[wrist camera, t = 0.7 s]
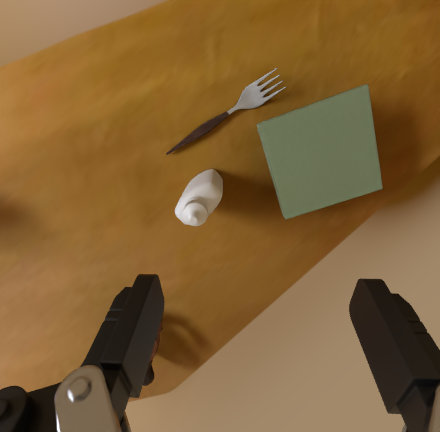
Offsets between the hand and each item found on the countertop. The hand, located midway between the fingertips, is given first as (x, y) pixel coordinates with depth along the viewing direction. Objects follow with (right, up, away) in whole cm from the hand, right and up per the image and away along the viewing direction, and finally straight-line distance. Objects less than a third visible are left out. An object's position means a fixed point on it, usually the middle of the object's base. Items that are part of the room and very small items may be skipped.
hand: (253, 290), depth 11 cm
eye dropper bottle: (-4, +7, +24) cm, 26 cm away
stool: (+10, +11, +22) cm, 27 cm away
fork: (-1, +15, +21) cm, 26 cm away
